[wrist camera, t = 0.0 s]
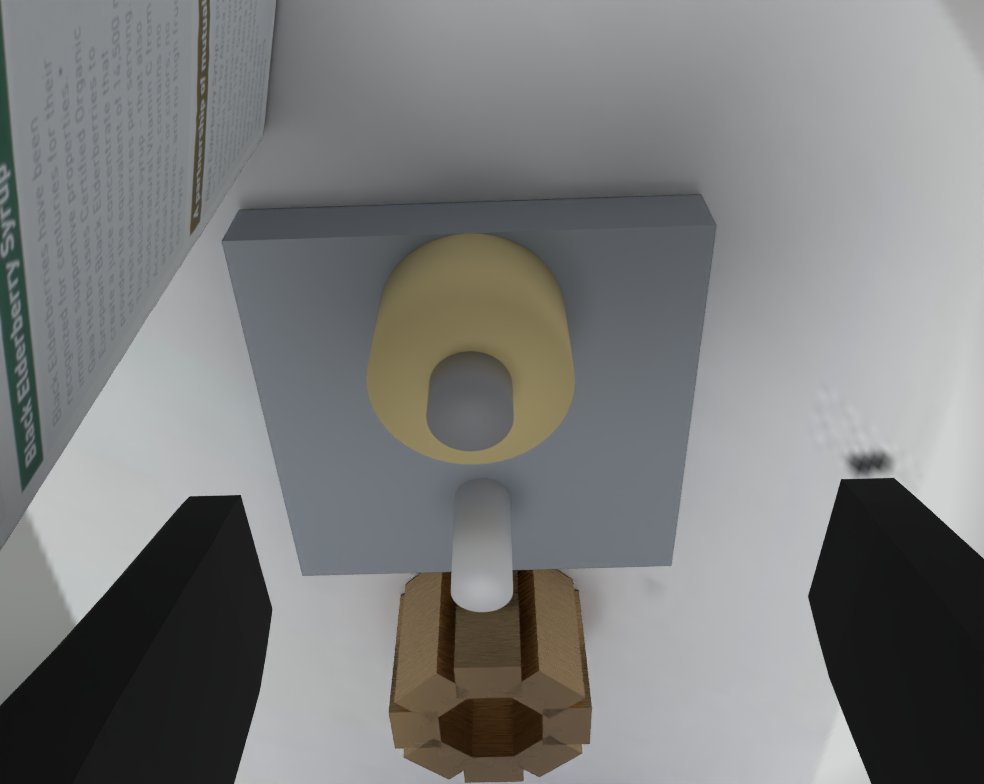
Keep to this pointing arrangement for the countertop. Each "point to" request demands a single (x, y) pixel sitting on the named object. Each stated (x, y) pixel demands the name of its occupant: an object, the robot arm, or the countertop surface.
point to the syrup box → (106, 191)
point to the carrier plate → (477, 380)
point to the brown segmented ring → (491, 679)
